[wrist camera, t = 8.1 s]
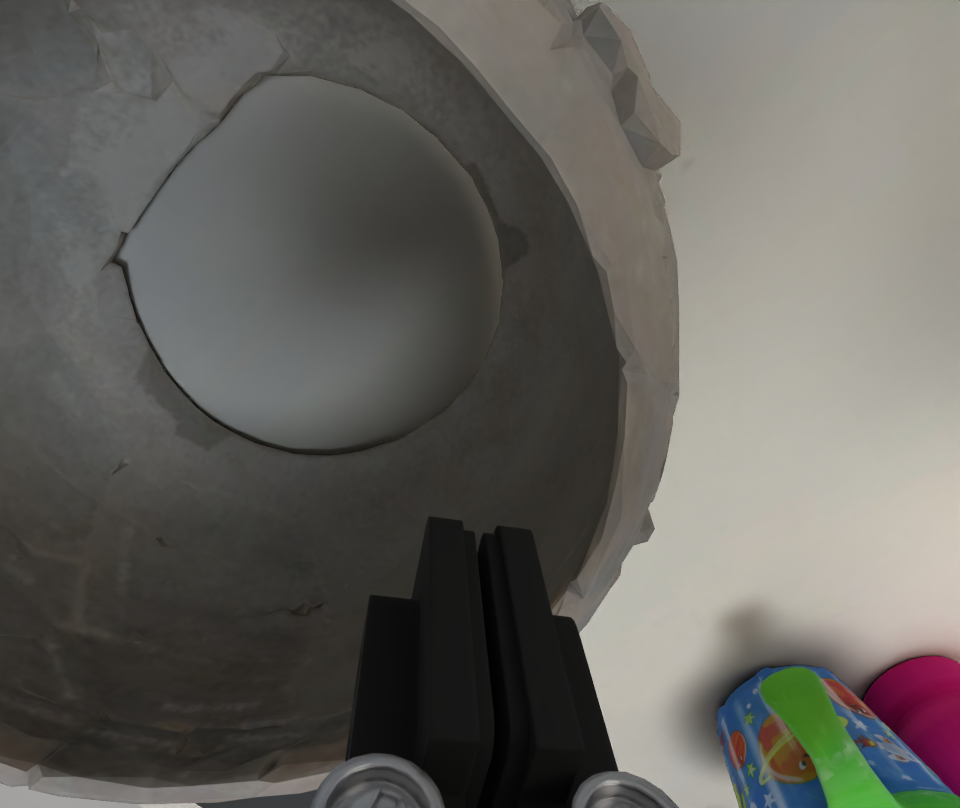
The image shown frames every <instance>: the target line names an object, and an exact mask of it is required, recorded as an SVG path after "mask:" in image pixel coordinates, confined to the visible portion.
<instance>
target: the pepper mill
mask: <svg viewBox="0 0 960 808" xmlns="http://www.w3.org/2000/svg"><path fill="white" fill-rule="evenodd" d="M863 703H864V704H865V705H866V706H867V707H868V708H869V709H870V710H871V711H872V712H873V713H874V714H875V715H876V716H877V717H878V718H879V719H880V720H881V721H882V722H883V723H884V724H885V725H886V726H887V727H889V728H890V729H891V730H892V731H893V732H894V733H895V734H896V735H897V736H898V737H899V738H900V739H901V740H902V741H903V742H904V743H905V744H906V745H907V746H908V747H909V748H910V749H911V750H912V751H913V752H914V753H915V754H916V755H917V756H918V757H919V758H920V759H921V760H922V761H923V762H924V763H925V765H926V766H928V767H929V768H930V769H931V770H932V771H933V772H934V773H935V774H936V775H937V776H938V777H939V778H940V779H941V781H942V782H943V783H944V784H945V785H946V786H947V787H949V788H950V790H951V791H952V792H953V793H954V794H955V795H957V796H959V797H960V664H959V663H957V662H956V661H954V660H952V659H949V658H945V657H940V656H924V657H920V658H915V659H911V660H908V661H906V662H903V663H901V664H898V665H896V666H895V667H893V668H891V669H889V670H888V671H886V672H885V673H884V674H883V675H882V676H880V677H879V678H878V679H877V680H876V681H875V682H874V683H873V684H872V685H871V687H870V688H869V690H868V691H867V693H866V695H865V698H864V701H863Z"/></svg>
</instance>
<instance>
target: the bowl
mask: <svg viewBox="0 0 960 808" xmlns="http://www.w3.org/2000/svg"><path fill="white" fill-rule="evenodd" d="M262 76H314V77H318V78H322V79H325V80H329V81H332V82H336V83H340V84H343V85H347V86H351V87H354V88H358V89H361V90H363V91H365V92H367V93H369V94H371V95H373V96H375V97H377V98H379V99H381V100H383V101H385V102H387V103H389V104H391V105H393V106H395V107H397V108H399V109H401V110H403V111H404V112H405V113H407V114H408V115H409V116H410V117H412V118H413V119H414V120H415V121H417V122H418V123H419V124H420V125H422V126H423V127H424V128H425V129H427V130H428V131H429V132H430V133H432V134H433V135H434V136H435V137H437V138H438V140H439V141H440V142H441V143H442V144H443V145H444V146H445V148H446V149H447V150H448V151H449V152H450V153H451V154H452V156H453V157H454V158H455V159H456V160H457V161H458V162H459V164H460V165H461V166H462V167H463V168H464V169H465V170H466V172H467V173H468V174H469V175H470V176H471V177H472V179H473V181H474V183H475V185H476V187H477V189H478V191H479V193H480V195H481V197H482V199H483V201H484V203H485V205H486V207H487V209H488V212H489V215H490V217H491V220H492V223H493V226H494V228H495V231H496V234H497V237H498V240H499V250H500V260H501V269H502V279H503V284H502V296H501V308H500V320H499V324H498V326H497V329H496V331H495V334H494V337H493V339H492V342H491V344H490V347H489V350H488V352H487V355H486V357H485V360H484V362H483V364H482V366H481V367H480V368H479V370H478V371H477V372H476V374H475V375H474V377H473V378H472V379H471V381H470V382H469V384H468V385H467V386H466V388H465V389H464V390H463V392H462V393H461V394H460V395H459V396H458V397H457V398H456V399H455V400H454V401H453V402H452V403H451V404H450V405H449V406H448V407H447V408H446V409H445V410H444V411H443V412H442V413H441V414H439V415H437V416H436V417H434V418H433V419H431V420H430V421H428V422H426V423H425V424H423V425H422V426H420V427H419V428H417V429H415V430H414V431H412V432H411V433H409V434H408V435H406V436H404V437H403V438H401V439H398V440H395V441H392V442H389V443H386V444H383V445H380V446H376V447H373V448H370V449H367V450H364V451H358V452H352V453H346V454H340V455H334V456H322V455H303V454H293V453H289V452H286V451H282V450H278V449H275V448H271V447H267V446H263V445H260V444H256V443H254V442H251V441H249V440H247V439H245V438H243V437H241V436H239V435H237V434H235V433H234V432H232V431H230V430H228V429H227V428H225V427H223V426H221V425H219V424H218V423H216V422H214V421H213V420H212V419H210V418H209V417H208V416H206V415H205V414H204V413H202V412H201V411H200V410H199V409H197V408H196V407H195V406H194V405H193V404H192V402H191V401H190V400H189V399H188V398H187V397H186V396H185V395H184V394H183V393H182V392H181V391H180V390H179V388H178V387H177V386H176V385H175V384H174V383H173V381H172V380H171V379H170V378H169V377H168V375H167V374H166V373H165V371H164V370H163V368H162V366H161V364H160V363H159V361H158V359H157V357H156V356H155V354H154V352H153V350H152V349H151V347H150V345H149V343H148V341H147V339H146V337H145V335H144V333H143V331H142V329H141V327H140V325H139V323H138V321H137V320H136V316H135V313H134V310H133V307H132V304H131V300H130V297H129V293H128V288H127V284H126V281H125V277H124V274H123V271H122V267H121V266H119V265H117V264H115V263H114V262H112V259H113V258H114V256H115V254H116V253H117V251H118V250H119V248H120V246H121V245H122V242H123V238H124V234H125V232H126V233H129V232H130V231H131V229H132V228H133V226H134V224H135V223H136V221H137V220H138V218H139V217H140V215H141V214H142V212H143V211H144V209H145V208H146V206H147V205H148V204H149V202H150V201H151V199H152V198H153V196H154V195H155V193H156V192H157V191H158V189H159V188H160V186H161V185H162V183H163V182H164V181H165V179H166V178H167V176H168V175H169V174H170V172H171V171H172V170H173V169H174V168H175V167H176V165H177V164H178V163H179V162H180V161H181V160H182V158H183V157H184V156H185V155H186V154H187V152H188V151H189V150H190V149H191V148H193V147H194V146H195V145H196V144H197V143H198V142H199V141H200V140H201V139H203V138H204V137H205V136H206V135H207V134H208V133H209V132H210V131H211V130H213V129H214V128H215V127H216V126H217V125H218V124H219V123H220V121H221V120H222V119H223V118H224V116H225V115H226V114H227V113H228V111H229V110H230V108H231V107H232V105H233V104H234V102H235V101H236V99H237V98H238V97H239V95H240V94H241V93H243V92H245V91H247V90H249V89H251V88H253V87H254V86H255V85H256V84H257V82H258V81H259V80H260V78H261V77H262ZM678 156H680V120H679V119H678V118H677V117H676V116H675V114H674V113H673V112H672V111H671V110H670V108H669V107H668V106H667V105H666V103H665V102H664V101H663V100H662V99H661V97H660V96H659V95H658V94H657V93H656V91H655V90H654V89H653V88H652V87H651V85H650V75H649V73H648V71H647V68H646V66H645V64H644V61H643V59H642V57H641V55H640V52H639V50H638V48H637V46H636V43H635V41H634V39H633V36H632V34H631V32H630V30H629V28H628V27H627V26H626V25H625V24H624V23H623V22H622V21H621V20H620V19H619V18H618V17H617V16H616V15H615V14H614V13H613V12H612V11H611V9H610V8H609V7H607V6H605V5H603V4H602V3H600V2H599V3H597V4H595V5H592V6H590V7H588V8H586V9H585V10H584V11H583V12H582V13H581V14H580V15H579V16H577V15H576V14H575V9H574V6H573V4H572V3H571V1H570V0H0V783H1V784H4V785H7V786H11V787H14V786H28V785H29V790H34V791H39V792H43V793H47V794H52V795H56V796H62V797H71V798H81V799H91V800H101V801H111V802H121V803H131V804H169V803H217V802H225V801H232V800H239V799H246V798H253V797H264V796H276V795H287V794H298V793H304V792H308V791H312V790H317V789H318V788H319V786H320V784H321V782H322V781H323V780H324V779H325V778H326V777H327V776H328V775H329V774H330V773H331V772H332V771H333V770H334V769H335V768H336V767H337V766H339V765H341V764H342V763H344V762H345V756H346V748H347V741H348V734H349V726H350V719H351V711H352V704H353V696H354V689H355V682H356V675H357V668H358V661H359V655H360V648H361V642H362V636H363V629H364V624H365V618H366V612H367V606H368V600H369V595H378V596H387V597H396V598H405V599H411V597H412V592H413V587H414V582H415V577H416V572H417V567H418V562H419V557H420V553H421V548H422V543H423V538H424V533H425V528H426V523H427V520H428V517H429V516H432V517H439V518H447V519H454V520H462V521H463V527H464V530H469V531H474V532H475V539H476V549H477V552H478V548H479V544H480V540H481V537H482V534H483V533H492V534H493V533H494V530H495V528H496V526H498V525H500V526H508V527H516V528H523V529H530V530H531V531H532V533H533V537H534V541H535V545H536V549H537V553H538V557H539V561H540V565H541V570H542V574H543V578H544V582H545V586H546V590H547V594H548V598H549V602H550V606H551V611H552V615H558V616H567V617H571V618H572V619H573V620H574V621H575V623H576V626H577V628H578V632H580V631H581V630H582V629H583V628H584V627H585V626H586V625H587V623H588V622H589V620H590V619H591V617H592V616H593V614H594V613H595V611H596V610H597V608H598V607H599V605H600V604H601V602H602V600H603V599H604V597H605V596H606V594H607V593H608V591H609V590H610V588H611V587H612V586H613V584H614V583H615V582H616V580H617V579H618V578H619V576H620V572H621V565H622V562H623V561H624V559H625V557H626V556H627V554H628V553H629V551H630V550H631V548H632V546H633V545H636V544H640V543H644V542H647V541H648V540H649V538H650V536H651V534H652V533H653V531H654V529H655V528H654V525H653V522H652V519H651V516H650V513H649V510H648V507H649V505H650V502H652V501H653V500H654V497H655V494H656V491H657V489H658V486H659V483H660V480H661V478H662V474H663V469H664V465H665V461H666V457H667V452H668V447H669V442H670V436H671V430H672V425H673V415H674V411H675V408H676V404H677V401H678V397H679V297H678V273H677V259H676V254H675V250H674V245H673V240H672V236H671V231H670V227H669V223H668V219H667V215H666V211H665V200H664V197H663V194H662V191H661V188H660V184H659V180H660V178H661V174H660V172H659V168H661V167H662V166H664V165H666V164H667V163H669V162H670V161H672V160H673V159H675V158H676V157H678Z"/></svg>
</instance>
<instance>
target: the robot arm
mask: <svg viewBox="0 0 960 808" xmlns="http://www.w3.org/2000/svg"><path fill="white" fill-rule="evenodd" d="M309 808H679V807H678V806H677V805H676V804H675V803H674V802H673V801H672V800H671V799H670V798H669V797H668V796H667V795H666V794H665V793H664V792H663V791H662V790H661V789H659V788H657V787H656V786H654V785H653V784H651V783H650V782H648V781H647V780H645V779H643V778H641V777H638V776H635V775H632V774H630V773H627V772H619V771H618V768H617V764H616V761H615V757H614V754H613V750H612V747H611V743H610V740H609V737H608V733H607V730H606V726H605V723H604V719H603V716H602V712H601V709H600V705H599V702H598V698H597V695H596V691H595V688H594V684H593V681H592V677H591V674H590V670H589V667H588V663H587V660H586V656H585V653H584V649H583V646H582V642H581V639H580V635H579V632H578V628H577V626H576V623H575V621H574V620H573V619H572V618H571V617H567V616H558V615H552V611H551V606H550V602H549V598H548V594H547V590H546V586H545V582H544V578H543V574H542V570H541V565H540V561H539V557H538V553H537V549H536V545H535V541H534V537H533V533H532V531H531V530H530V529H523V528H516V527H508V526H500V525H498V526H496V528H495V530H494V533H493V534H492V533H483V534H482V537H481V540H480V544H479V548H478V552H477V549H476V539H475V532H474V531H469V530H464V527H463V521H462V520H454V519H447V518H439V517H432V516H429V517H428V520H427V523H426V528H425V533H424V538H423V543H422V548H421V553H420V557H419V562H418V567H417V572H416V577H415V582H414V587H413V592H412V597H411V599H405V598H396V597H387V596H378V595H369V600H368V606H367V612H366V618H365V624H364V629H363V636H362V642H361V648H360V655H359V661H358V668H357V675H356V682H355V689H354V696H353V704H352V711H351V719H350V726H349V734H348V741H347V748H346V756H345V762H344V763H342V764H341V765H339V766H337V767H336V768H335V769H334V770H333V771H332V772H331V773H330V774H329V775H328V776H327V777H326V778H325V779H324V780H323V781H322V782H321V784H320V786H319V788H318V789H317V791H316V793H315V795H314V797H313V799H312V801H311V804H310V807H309Z"/></svg>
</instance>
